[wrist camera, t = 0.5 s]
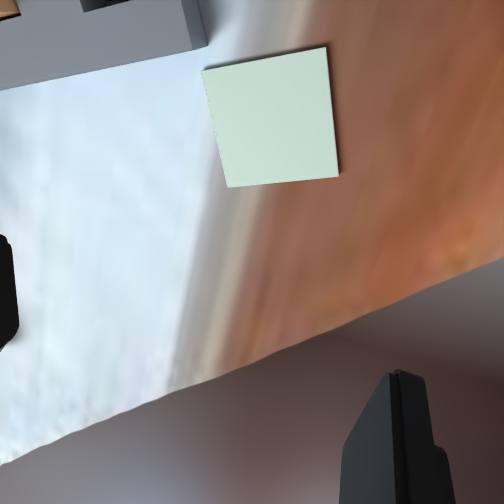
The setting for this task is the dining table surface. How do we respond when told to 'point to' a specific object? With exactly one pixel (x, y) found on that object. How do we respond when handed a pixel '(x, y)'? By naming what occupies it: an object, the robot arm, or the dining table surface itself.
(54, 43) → the housing
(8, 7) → the tan cube
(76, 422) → the dining table surface
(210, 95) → the mat
